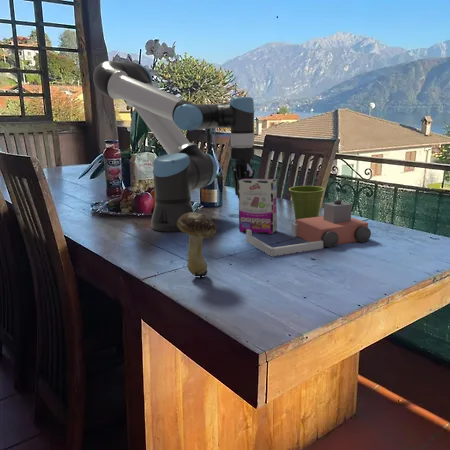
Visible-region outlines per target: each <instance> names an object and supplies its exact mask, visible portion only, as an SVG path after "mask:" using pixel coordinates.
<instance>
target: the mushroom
mask: <svg viewBox="0 0 450 450" xmlns="http://www.w3.org/2000/svg"><path fill="white" fill-rule="evenodd" d="M177 226H178V228H179V229H180V230H181V231H180V232H182V233H184V234H186V235H188V250H187V254H186V256H187V265H186V266H187V269H188V271H189V273H191V274H192V276H194V277H195V276H200V277H202V276H205V275H207V274H208V264H207V262H206V259H205V257H204V255H203V240H204V239H211V238H212V237H214V236H215V234H216V232H217V226H216V224H215V223H214V221H213V220H212V219H211V218H210V217H209V216H207V215H206V214H204V213H200V212H195V211H194V212H190V213H186V214H184V215H182V216H181V217H180V218H179V219H178V221H177Z"/></svg>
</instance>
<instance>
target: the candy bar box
mask: <svg viewBox="0 0 450 450" xmlns="http://www.w3.org/2000/svg"><path fill="white" fill-rule="evenodd" d="M238 190H239V198H238V228H239V231H238V232H240V233H241V232H242V233H246V229H250V230H252V234H253V233H254V234H266V235H268V234H269V235H273V234H274V233H276V232H277V231H278V230H277V229H278V227H277V226H278V212H277V211H278V209H277V208H278V205H277V204H278V203H277V202H278V201H277V200H278V199H277V198H278V194H277V193H278V192H277V191H278V181H277V179H275V178H274V179H273V178H253V179H241V180H239V181H238Z"/></svg>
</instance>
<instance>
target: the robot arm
mask: <svg viewBox="0 0 450 450" xmlns="http://www.w3.org/2000/svg"><path fill="white" fill-rule="evenodd" d="M92 79H93V80H92V81H93V84H94V87H95V88H96V90H97V91H98V92H99V94H101V95H104V96H106V97H109V98H111V99H112V100H123V101H124V102H125V104H126V105H127V107H130V108H134V109H135V111H136V112H137V113H138V114H139V116H140V118H141V119H142V120H143V122H144V123H145V125H146V126H147V127H148V129H149V130H150V131H151V133H152V135H154V137H155V139H156V140H157V141H158V142H159V144H160V145H161V146H162V148H163V149H164V151H165V152H166V153H165V154H163V155H160V156H157V157H156V158H155V159H154V160H153V163H152V167H153V168H152V173H153V184H154V185H153V189H154V199H155V200H154V202H155V203H154V204H155V205H154V209H153V212H152V216H151V220H150V225H151V229H152V230H154V231H159V232H169V233H170V232H174V233H175V232H182V231H181V230H180V229H179V228H178V226H177V221H178V219H179V218H180V217H181V216H182V215H184V214H186V213H190V212H195V210H194V207H193V204H192V193H191V192H192V191H195V190H197V189H203V188H205V187H207V186H209V185H211V184H212V183H213V182H214V181H215V180H216V178H217V175H218V164H217V161H216V160H215V158H214V156H213V155H211V154H209V153H206V152H203V151H202V150H201V149H200V147H199V146H198V144H197V143H192V142H190V141H189V139H188V138H187V137H186V136H185V134H184V133H183V132H182V131H195V130H207V129H223V128H224V129H226V128H227V129H229V128H230V146H231V148H230V158H231V159H232V160H235V162H234V164H235V166H234V165H233V166H231V171H232V175H233V183H234V185H233V186H234V192H235V196H237V199H239V190H238V181H239V180H241V179H254V176H255V173H256V171H255V169H252V164H251V160H253V159H255V147H254V145H255V137H256V136H255V105H254V104H255V103H254V99H253V97H251V96H237V97H236V96H234V97H231V98H230V99H229V103H225V104H224V103H223V104H222V103H221V104H219V103H217V104H216V103H207V104H204V103H203V104H201V103H200V104H199V103H198V104H197V103H194V102H191V101H188V100H185V99H183V98H181V97H179V96H177V95H174V94H171V93H169V92H167V91H164V90H161V89H159V88H157V87H154V85H153V84H154V83H153V81H152V80H153V77H152V74H151V73H150V70H149V69H148V68H147V67H145V66H144V65H142V64H139V63H136V62H126V61H125V62H124V61H115V60H106V61H103V62H100V63H99V64H98V65H97V66H96V68H95V69H94V71H93V74H92Z"/></svg>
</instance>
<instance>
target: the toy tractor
mask: <svg viewBox="0 0 450 450" xmlns="http://www.w3.org/2000/svg"><path fill="white" fill-rule="evenodd" d="M352 206H353V205H352V203H349V202H345V201H342V199H334V201H331V202H324V203H323V215H321V216H319V215H318V217H311V218H303V219H296V220H295V221H294V223H291V236H294V237H297V238H300V239H302V240H304V241H306V242H304V243H303V242H302V243H297V244H295V243H294V244H288V245H282V246H281V245H280V246H276V247H272V246H270V245H269V244H267V243H265V242H263V241H262V240H260V239H258V238H257V237H255V236H253V233H252V230H250V229H246V232H245V233H246V234H245V235H246V236H245V237H246V239H245V240H246V242H247V243H248V242H249V244H250V243H251V244H252V246H253V245H254V246H253V247H255V248H256V247H257V248H256V249H258V248H259V249H260V251H261V250H262V251H261V252H262V253H264V252H265V254H266V255H268V256H269V255H270V256H269V257H271V256H272V257H277V255H278V256H283V254H285V255H289V254H290V253H291V254H297V253H296V252H298V253H303V251H304V252H309V251H316V250H322V249H324V247H327V248H334V247H336V246H337V245H342V244H348V243H355V242H360V243H367V242H368V241H369V240H371V239H370V238H371V237H372V232H371V229H370V228H369V222H367V221H363V220H360V219H357V218H355V217H352ZM251 244H250V245H251ZM259 249H258V250H259Z"/></svg>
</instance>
